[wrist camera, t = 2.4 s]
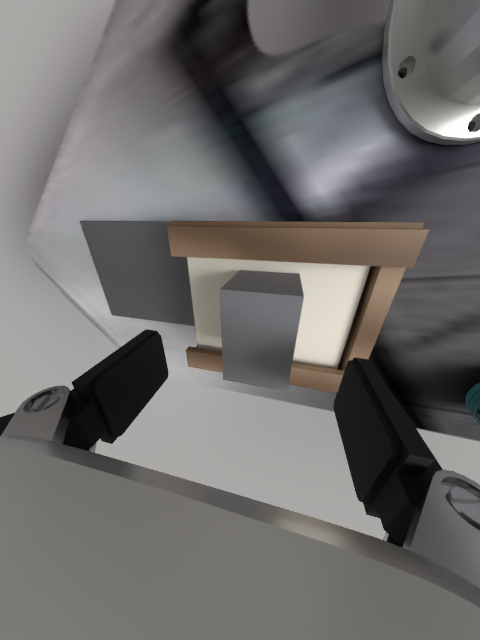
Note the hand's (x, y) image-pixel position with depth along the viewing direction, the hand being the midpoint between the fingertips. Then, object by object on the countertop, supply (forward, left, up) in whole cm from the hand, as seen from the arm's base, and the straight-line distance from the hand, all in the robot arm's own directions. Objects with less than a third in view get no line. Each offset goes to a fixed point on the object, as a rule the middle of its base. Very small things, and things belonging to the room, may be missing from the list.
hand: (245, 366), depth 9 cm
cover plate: (-1, 0, -7) cm, 7 cm away
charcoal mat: (-1, -15, -13) cm, 20 cm away
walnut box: (-1, +1, -13) cm, 13 cm away
